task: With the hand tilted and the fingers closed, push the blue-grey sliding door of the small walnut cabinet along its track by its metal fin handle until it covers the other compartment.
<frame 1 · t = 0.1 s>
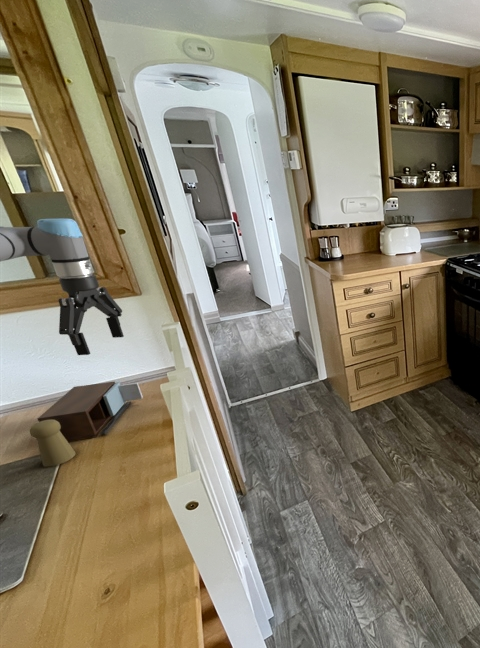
hand: (102, 345, 113), 21 cm above the table, tool pointing down, fingers open, 13 cm apart
cabinet: (89, 422, 112), on the table
sliding door: (124, 397, 117), point 5 cm above the table, slide at 0.0 cm
cork: (59, 459, 98), on the table
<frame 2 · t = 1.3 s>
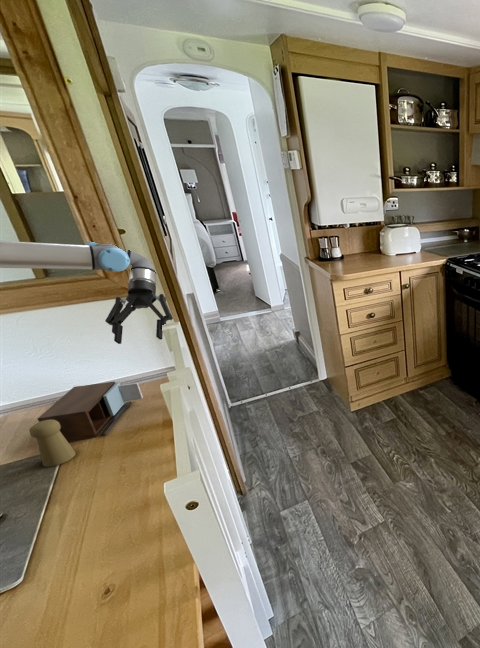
hand: (138, 340, 127), 17 cm above the table, tool tilted 45°, fingers open, 11 cm apart
nothing on the table moved.
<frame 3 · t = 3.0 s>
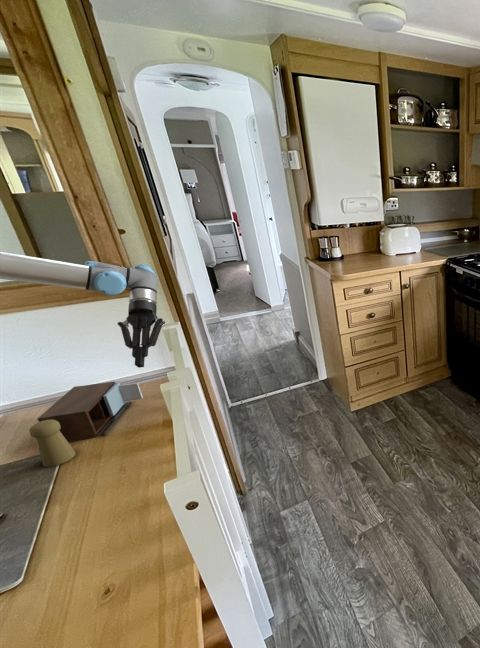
hand: (139, 365, 125), 10 cm above the table, tool tilted 45°, fingers closed
nothing on the table moved.
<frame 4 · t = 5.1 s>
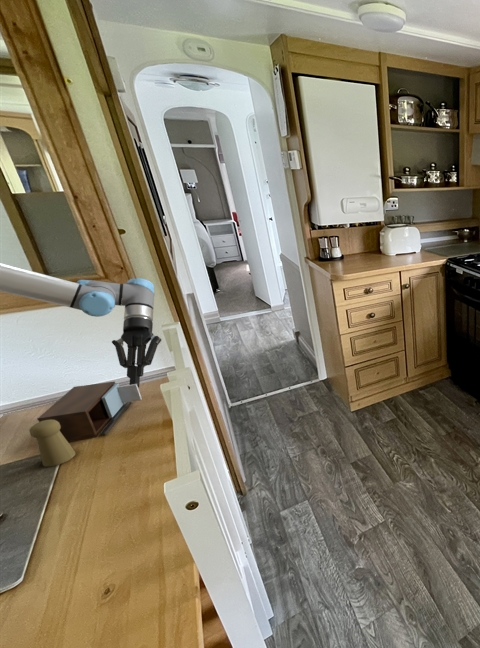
hand: (134, 386, 120), 6 cm above the table, tool tilted 45°, fingers closed
sliding door: (123, 398, 116), point 5 cm above the table, slide at 0.9 cm, touching gripper
everything else where it was.
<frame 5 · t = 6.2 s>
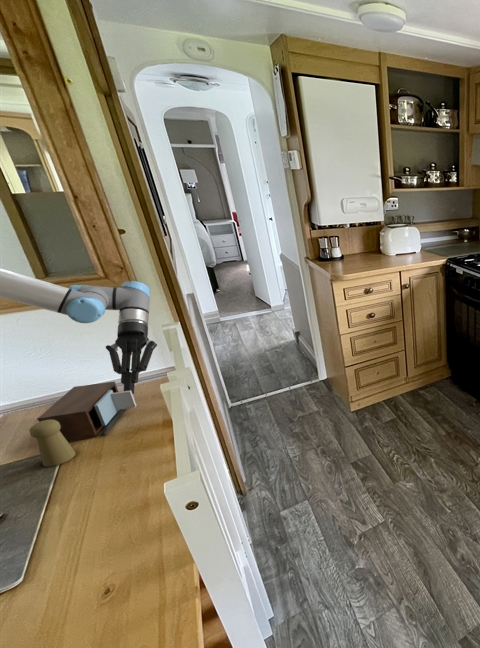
hand: (128, 393, 117), 6 cm above the table, tool tilted 45°, fingers closed
sliding door: (117, 406, 112), point 5 cm above the table, slide at 5.3 cm, touching gripper
everything else where it was.
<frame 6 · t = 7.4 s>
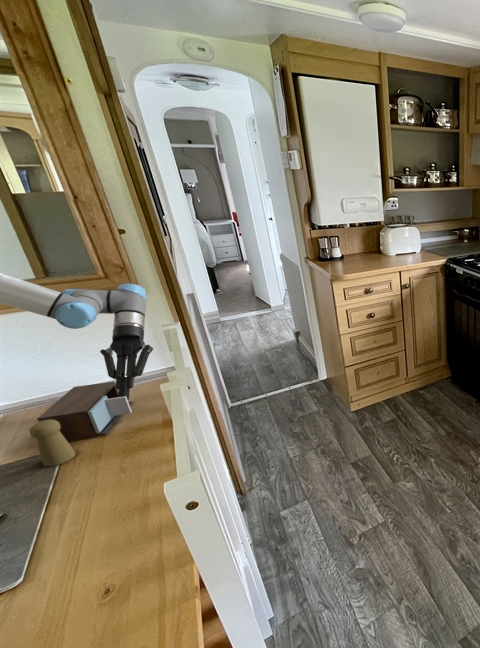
hand: (123, 398, 114), 6 cm above the table, tool tilted 45°, fingers closed
sliding door: (112, 412, 109), point 5 cm above the table, slide at 8.9 cm, touching gripper
everything else where it was.
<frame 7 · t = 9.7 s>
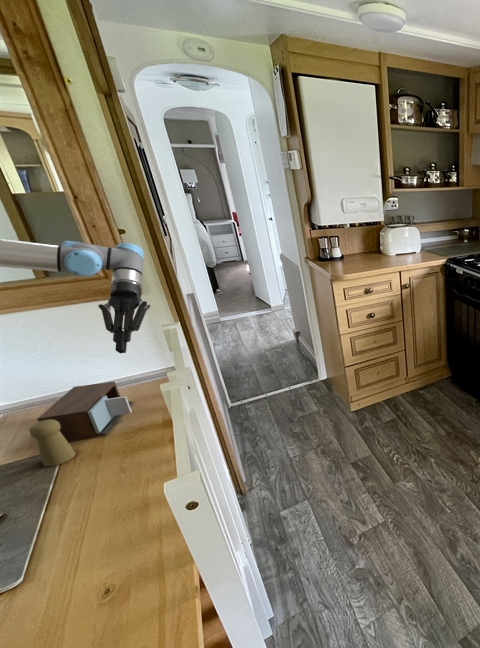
hand: (120, 351, 116), 18 cm above the table, tool tilted 45°, fingers closed
sliding door: (112, 412, 109), point 5 cm above the table, slide at 8.9 cm
everything else where it was.
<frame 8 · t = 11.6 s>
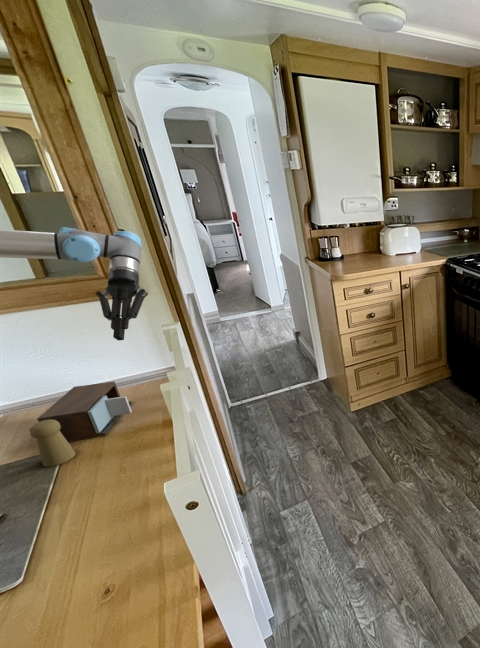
hand: (118, 338, 116), 22 cm above the table, tool tilted 45°, fingers closed
nothing on the table moved.
at the end: sliding door slide at 8.9 cm; cork moved 0.2 cm from its start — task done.
